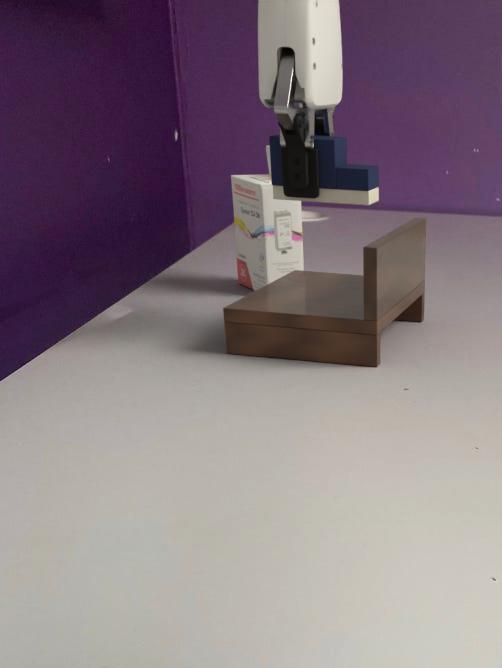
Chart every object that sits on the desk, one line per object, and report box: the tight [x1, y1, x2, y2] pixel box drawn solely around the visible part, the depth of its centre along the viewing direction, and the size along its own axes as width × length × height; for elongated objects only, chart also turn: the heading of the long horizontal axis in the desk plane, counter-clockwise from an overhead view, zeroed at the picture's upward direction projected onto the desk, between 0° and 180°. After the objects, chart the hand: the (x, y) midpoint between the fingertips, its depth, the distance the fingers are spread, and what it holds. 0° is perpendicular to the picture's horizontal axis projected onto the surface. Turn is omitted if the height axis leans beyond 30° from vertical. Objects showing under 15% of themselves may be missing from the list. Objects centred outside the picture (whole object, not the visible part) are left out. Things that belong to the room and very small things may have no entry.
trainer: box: [268, 133, 380, 206], centre depth 94 cm, size 9×4×5 cm, turn 81°
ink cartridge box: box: [230, 144, 305, 292], centre depth 116 cm, size 9×5×15 cm, turn 34°
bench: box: [222, 217, 427, 368], centre depth 99 cm, size 14×20×10 cm
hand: (309, 192), depth 95 cm, fingers closed on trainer, 4 cm apart
